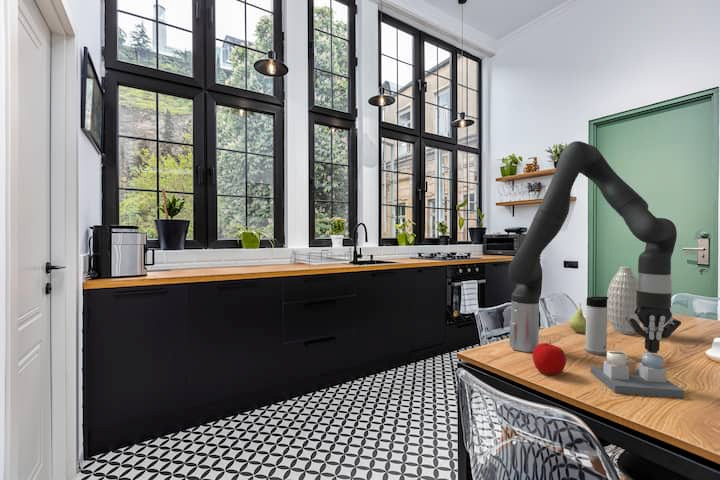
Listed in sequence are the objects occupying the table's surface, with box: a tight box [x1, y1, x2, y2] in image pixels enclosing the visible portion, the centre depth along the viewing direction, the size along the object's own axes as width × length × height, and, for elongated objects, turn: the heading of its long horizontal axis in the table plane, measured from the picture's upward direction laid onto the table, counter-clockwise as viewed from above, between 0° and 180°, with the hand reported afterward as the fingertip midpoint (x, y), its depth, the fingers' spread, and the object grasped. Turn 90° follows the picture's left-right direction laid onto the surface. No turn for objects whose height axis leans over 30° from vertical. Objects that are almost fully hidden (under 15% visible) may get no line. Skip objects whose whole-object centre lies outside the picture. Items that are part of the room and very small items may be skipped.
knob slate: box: [641, 352, 664, 369], centre depth 100 cm, size 4×4×6 cm
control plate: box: [590, 360, 685, 399], centre depth 101 cm, size 16×14×6 cm
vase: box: [606, 266, 641, 335], centre depth 154 cm, size 13×13×28 cm
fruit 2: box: [569, 303, 586, 334], centre depth 154 cm, size 7×8×12 cm
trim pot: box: [626, 354, 637, 374], centre depth 105 cm, size 3×3×5 cm
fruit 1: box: [532, 339, 567, 376], centre depth 109 cm, size 9×9×10 cm
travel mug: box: [585, 295, 608, 356], centre depth 128 cm, size 6×7×20 cm
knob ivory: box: [606, 350, 627, 367], centre depth 101 cm, size 4×4×6 cm
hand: (652, 352), depth 100 cm, fingers closed
